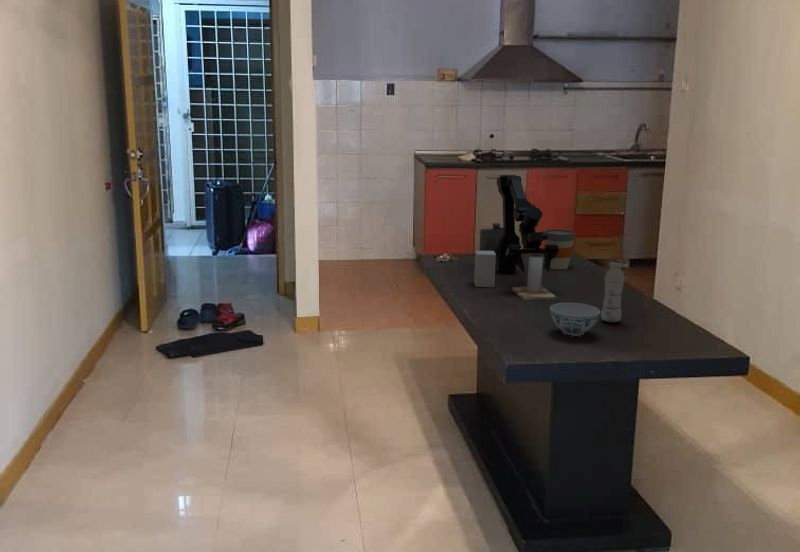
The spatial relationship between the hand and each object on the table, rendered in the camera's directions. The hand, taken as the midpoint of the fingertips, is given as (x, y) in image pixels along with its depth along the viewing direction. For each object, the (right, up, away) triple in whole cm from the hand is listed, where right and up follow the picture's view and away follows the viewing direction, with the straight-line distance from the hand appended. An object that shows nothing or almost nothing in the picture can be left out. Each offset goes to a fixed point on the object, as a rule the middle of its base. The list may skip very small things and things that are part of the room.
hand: (536, 271), depth 282 cm
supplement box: (-17, -5, +16) cm, 24 cm away
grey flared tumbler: (0, -7, +3) cm, 8 cm away
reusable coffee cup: (+17, +2, +47) cm, 50 cm away
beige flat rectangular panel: (0, -8, +4) cm, 9 cm away
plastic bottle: (+19, -17, -27) cm, 38 cm away
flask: (-9, +2, +48) cm, 48 cm away
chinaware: (+4, -20, -40) cm, 45 cm away
